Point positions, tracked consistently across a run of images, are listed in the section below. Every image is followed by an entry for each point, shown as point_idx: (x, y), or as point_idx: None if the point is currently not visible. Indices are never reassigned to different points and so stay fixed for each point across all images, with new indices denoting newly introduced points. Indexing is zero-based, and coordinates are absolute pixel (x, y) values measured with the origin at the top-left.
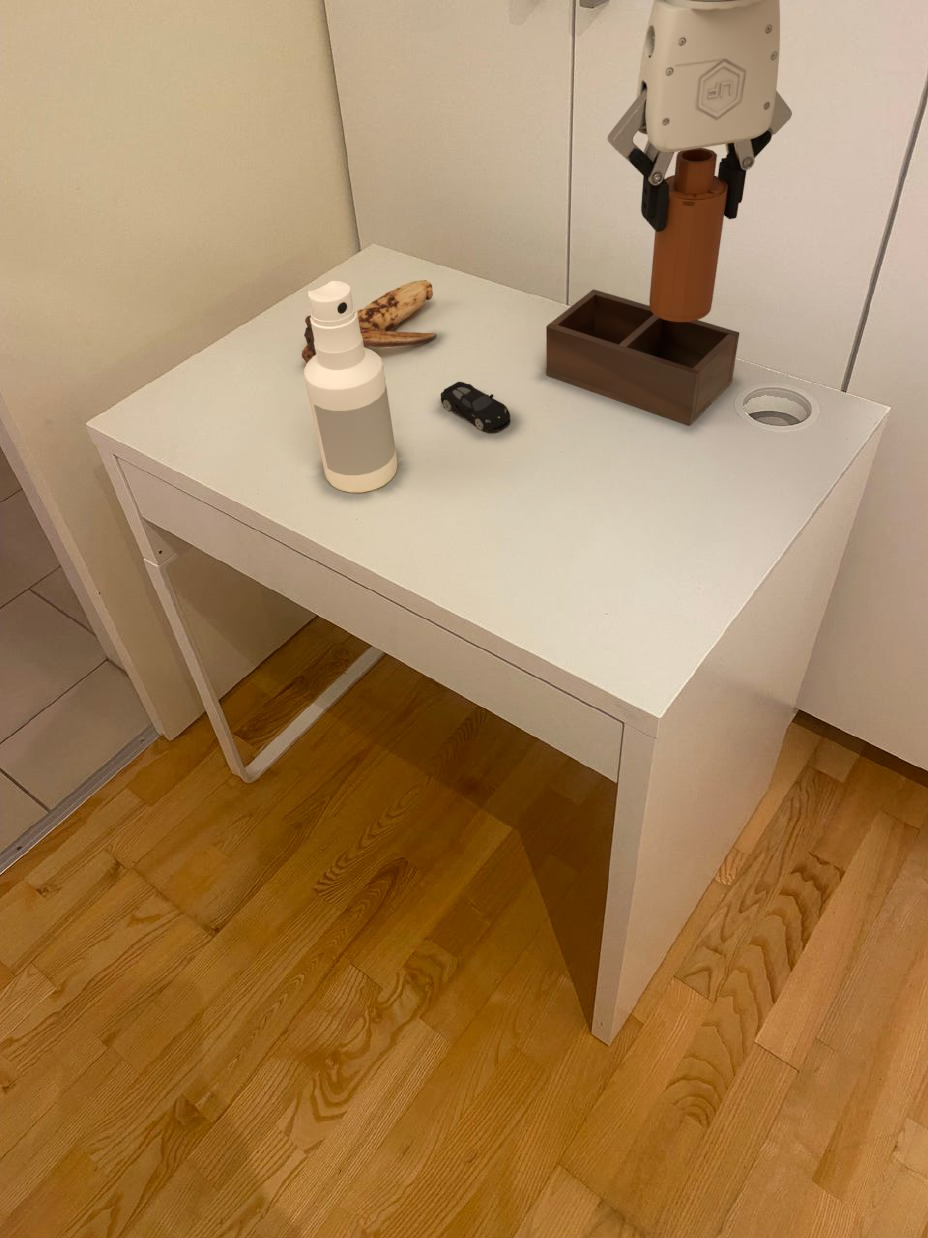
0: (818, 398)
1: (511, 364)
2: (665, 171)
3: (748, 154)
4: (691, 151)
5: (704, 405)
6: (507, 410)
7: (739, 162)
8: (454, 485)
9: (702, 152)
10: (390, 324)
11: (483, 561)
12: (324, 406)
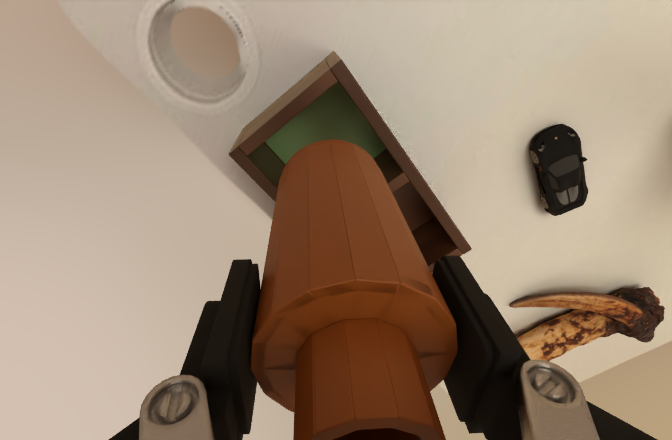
0: (131, 50)
1: (468, 242)
2: (529, 401)
3: (164, 433)
4: None
5: (302, 79)
6: (537, 149)
7: (208, 406)
8: (662, 33)
9: None
10: (554, 324)
11: None
12: None
